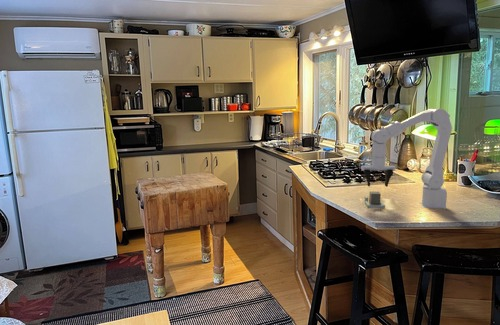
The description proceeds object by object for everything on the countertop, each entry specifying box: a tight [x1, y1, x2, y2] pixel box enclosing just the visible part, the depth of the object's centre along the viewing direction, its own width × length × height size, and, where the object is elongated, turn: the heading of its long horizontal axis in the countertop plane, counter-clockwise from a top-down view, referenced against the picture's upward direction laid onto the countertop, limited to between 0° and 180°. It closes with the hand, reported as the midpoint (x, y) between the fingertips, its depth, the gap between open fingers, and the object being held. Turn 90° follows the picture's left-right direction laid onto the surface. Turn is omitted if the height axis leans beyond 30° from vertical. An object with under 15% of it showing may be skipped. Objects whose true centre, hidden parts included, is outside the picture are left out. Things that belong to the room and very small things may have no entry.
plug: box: [368, 191, 382, 205], centre depth 172 cm, size 4×12×6 cm, turn 173°
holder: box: [365, 201, 385, 208], centre depth 168 cm, size 8×7×1 cm
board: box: [358, 197, 405, 211], centre depth 171 cm, size 16×18×1 cm
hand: (377, 186), depth 168 cm, fingers open, 7 cm apart
